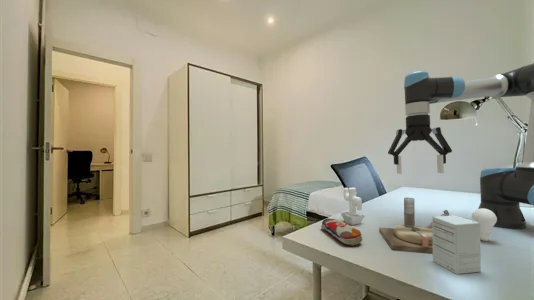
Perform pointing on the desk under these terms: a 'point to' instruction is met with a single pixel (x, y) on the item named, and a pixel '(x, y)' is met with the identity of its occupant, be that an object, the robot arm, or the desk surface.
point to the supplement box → (456, 244)
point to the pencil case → (342, 231)
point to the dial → (411, 226)
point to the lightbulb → (484, 222)
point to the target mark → (424, 241)
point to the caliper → (441, 215)
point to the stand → (403, 242)
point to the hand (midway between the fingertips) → (419, 173)
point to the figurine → (352, 207)
